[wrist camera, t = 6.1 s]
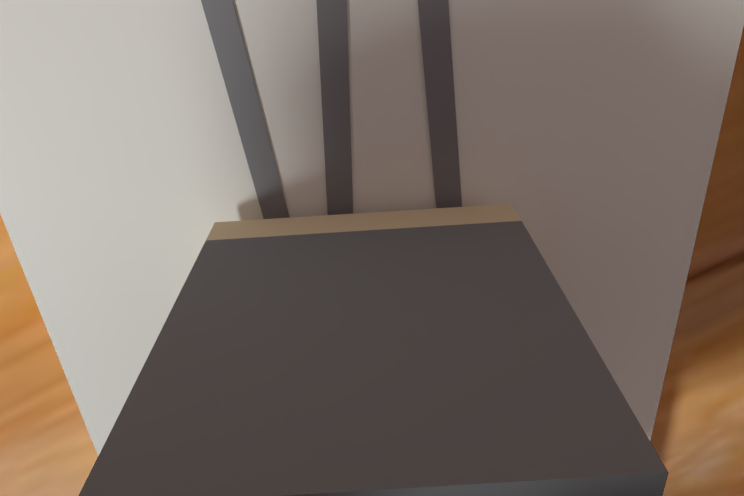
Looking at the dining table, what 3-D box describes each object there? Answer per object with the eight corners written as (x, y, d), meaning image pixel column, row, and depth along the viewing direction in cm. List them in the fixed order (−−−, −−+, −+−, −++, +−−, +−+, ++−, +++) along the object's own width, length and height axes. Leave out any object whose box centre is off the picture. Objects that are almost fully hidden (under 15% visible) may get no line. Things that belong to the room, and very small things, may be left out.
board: (602, 524, 15) (622, 571, 14) (170, 551, 15) (155, 600, 14) (916, -1147, 5) (1082, -1468, 4) (-398, -1025, 5) (-616, -1302, 4)
